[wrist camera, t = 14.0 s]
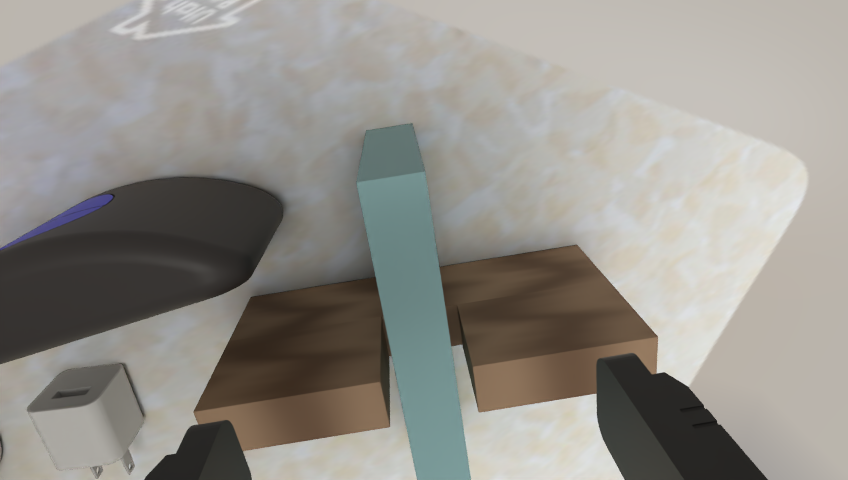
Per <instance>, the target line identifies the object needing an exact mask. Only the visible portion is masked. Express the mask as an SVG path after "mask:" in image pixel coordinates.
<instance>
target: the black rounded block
mask: <svg viewBox="0 0 848 480" xmlns="http://www.w3.org/2000/svg"><path fill="white" fill-rule="evenodd" d="M282 218H283V209H282V206H281V204H280V203H279V202H278V201H277V200H276V199H275V198H273V197H272V196H270V195H269V194H267V193H265V192H263V191H261V190H259V189H256V188H254V187H250V186H247V185H243V184H239V183H234V182H230V181H223V180H216V179H206V178H170V179H158V180H151V181H145V182H140V183H135V184H131V185H127V186H123V187H119V188H116V189H113V190H110V191H107V192H104V193H102V194H99V195H97V196H94V197H92V198H90V199H87V200H85V201H83V202H81V203H79V204H77V205H76V206H74V207H72V208H70V209H69V210H67V211H65V212H63V213H62V214H60V215H58V216H56V217H55V218H53V219H51V220H49V221H48V222H46V223H44V224H42V225H41V226H39V227H37V228H35V229H34V230H32V231H30V232H28V233H27V234H25V235H23V236H21V237H20V238H18V239H16V240H14V241H13V242H11V243H9V244H7V245H6V246H4V247H2V248H0V364H3V363H6V362H9V361H12V360H16V359H19V358H22V357H25V356H28V355H32V354H35V353H38V352H41V351H44V350H47V349H51V348H54V347H57V346H60V345H63V344H67V343H70V342H73V341H76V340H79V339H82V338H86V337H89V336H92V335H95V334H98V333H102V332H105V331H108V330H111V329H114V328H118V327H121V326H124V325H127V324H130V323H133V322H137V321H140V320H143V319H146V318H149V317H153V316H156V315H159V314H162V313H165V312H168V311H172V310H175V309H178V308H181V307H184V306H188V305H191V304H194V303H197V302H200V301H204V300H207V299H210V298H213V297H216V296H219V295H221V294H224V293H226V292H228V291H230V290H232V289H234V288H236V287H238V286H240V285H241V284H243V283H245V282H246V281H247V280H248V279H249V278H250V277H251V276H252V274H253V272H254V270H255V269H256V267H257V265H258V263H259V261H260V259H261V258H262V256H263V254H264V252H265V250H266V248H267V246H268V245H269V243H270V241H271V239H272V237H273V235H274V234H275V232H276V230H277V228H278V226H279V224H280V223H281V221H282Z"/></svg>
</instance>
